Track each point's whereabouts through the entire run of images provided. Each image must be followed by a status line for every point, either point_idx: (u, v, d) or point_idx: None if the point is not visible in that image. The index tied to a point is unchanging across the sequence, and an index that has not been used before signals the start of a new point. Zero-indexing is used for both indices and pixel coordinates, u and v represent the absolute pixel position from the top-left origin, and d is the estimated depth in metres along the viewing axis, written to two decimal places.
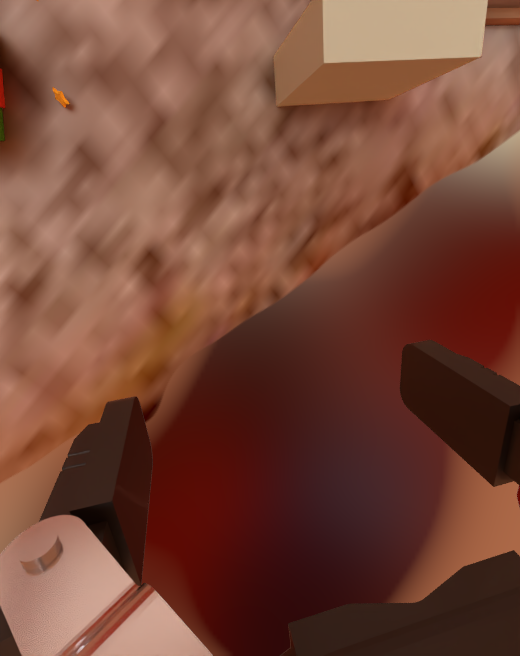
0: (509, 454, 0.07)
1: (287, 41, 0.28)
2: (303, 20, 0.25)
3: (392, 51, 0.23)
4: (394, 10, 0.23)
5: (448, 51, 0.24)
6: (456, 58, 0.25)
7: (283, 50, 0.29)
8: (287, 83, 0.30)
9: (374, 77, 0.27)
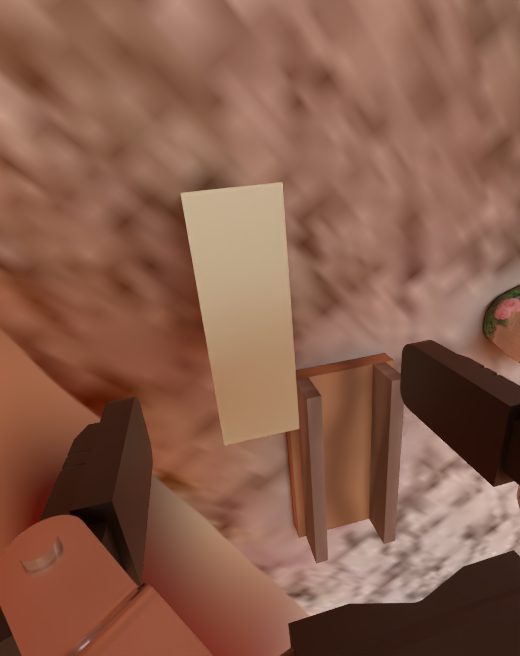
0: (509, 454, 0.07)
1: None
2: None
3: (213, 313, 0.15)
4: (262, 306, 0.15)
5: (224, 398, 0.17)
6: None
7: None
8: None
9: None
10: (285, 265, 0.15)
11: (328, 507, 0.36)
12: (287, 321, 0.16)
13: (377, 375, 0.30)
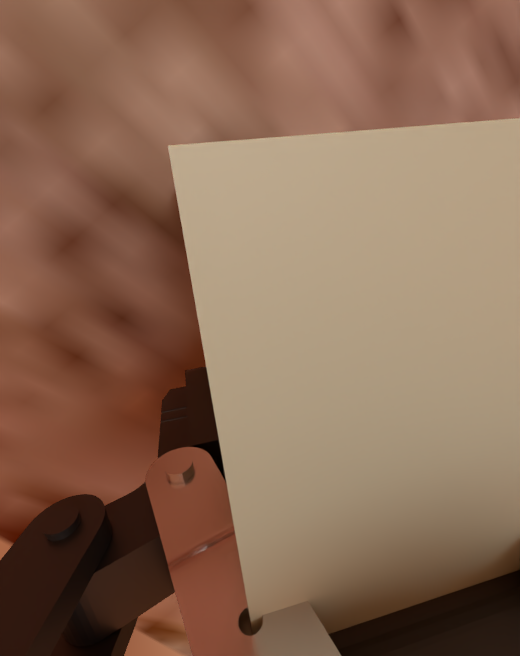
0: None
1: None
2: None
3: None
4: None
5: None
6: None
7: None
8: None
9: None
10: None
11: None
12: None
13: None
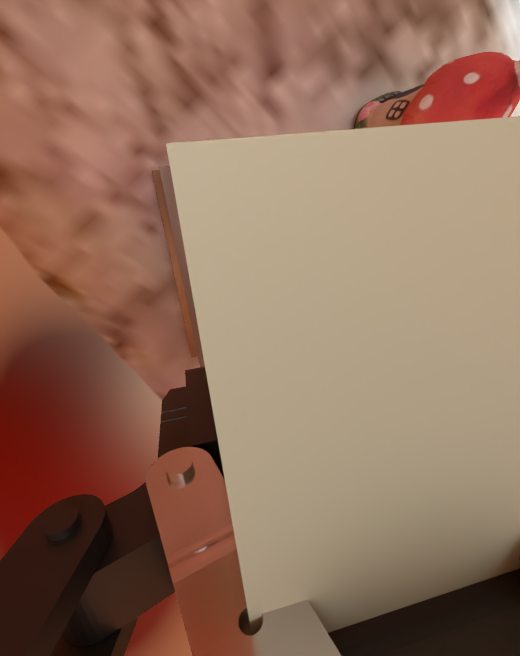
0: None
1: None
2: None
3: None
4: None
5: None
6: None
7: None
8: None
9: None
10: None
11: None
12: None
13: None
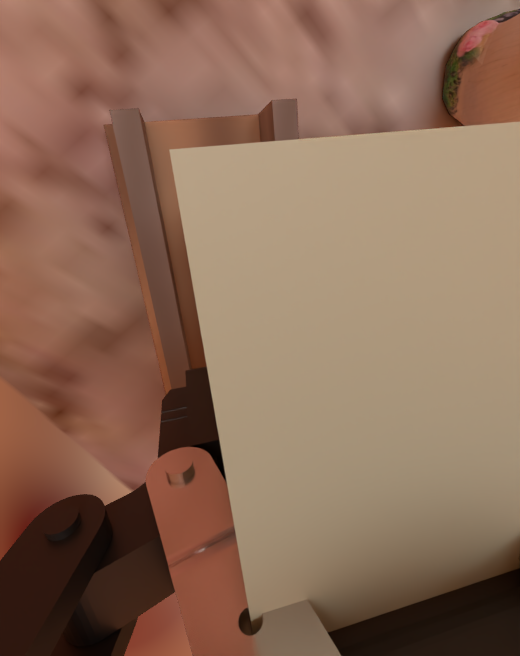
0: None
1: None
2: None
3: None
4: None
5: None
6: None
7: None
8: None
9: None
10: None
11: None
12: None
13: (262, 126, 0.18)
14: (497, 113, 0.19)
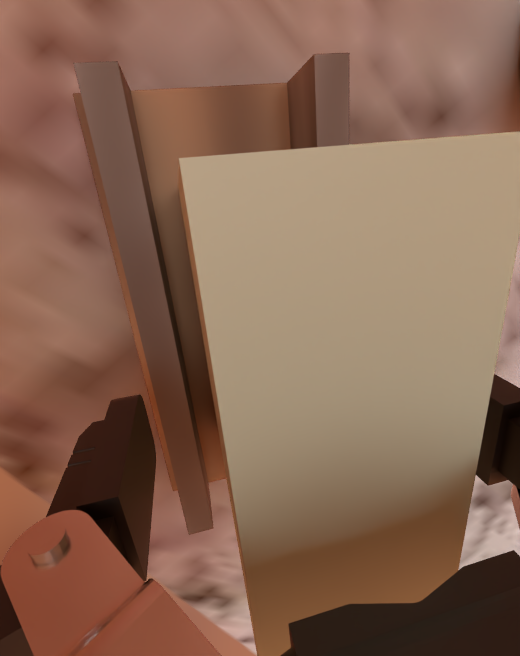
0: (503, 453, 0.08)
1: None
2: None
3: (272, 525, 0.05)
4: (405, 490, 0.06)
5: None
6: None
7: None
8: None
9: None
10: (486, 385, 0.05)
11: None
12: (457, 514, 0.06)
13: (294, 98, 0.13)
14: None
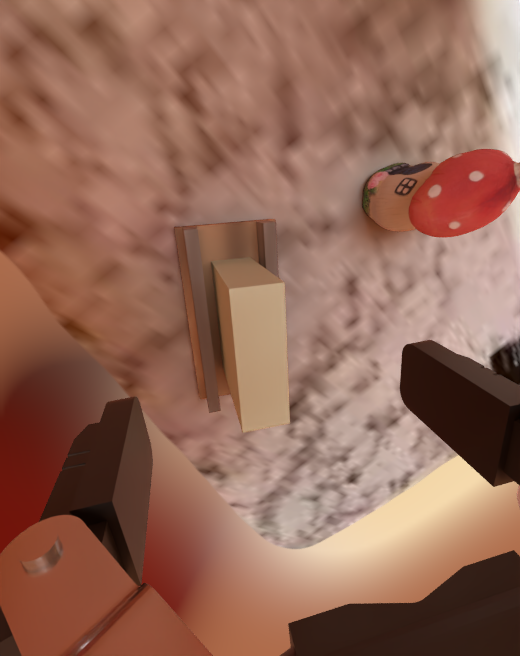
0: (509, 454, 0.07)
1: (256, 264, 0.31)
2: (266, 273, 0.28)
3: (241, 353, 0.26)
4: (270, 349, 0.26)
5: (244, 403, 0.27)
6: (240, 412, 0.28)
7: (251, 263, 0.32)
8: (225, 267, 0.31)
9: (228, 345, 0.29)
10: (284, 326, 0.26)
11: None
12: (284, 357, 0.27)
13: (258, 229, 0.34)
14: (386, 223, 0.35)
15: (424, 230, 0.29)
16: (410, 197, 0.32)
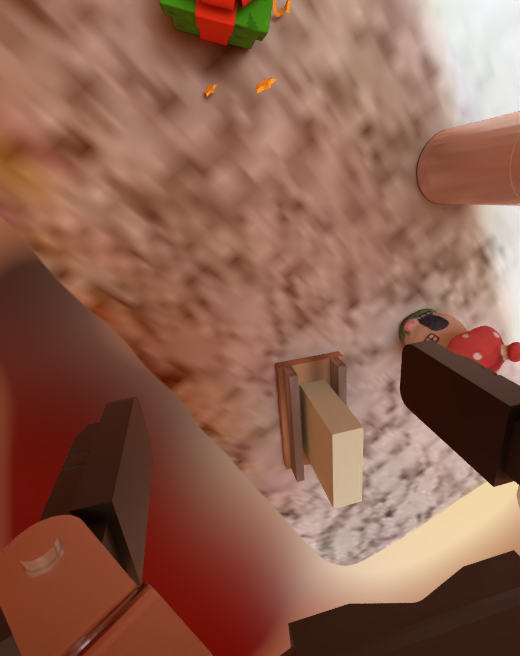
0: (509, 454, 0.07)
1: (335, 395, 0.48)
2: (346, 411, 0.45)
3: (336, 466, 0.43)
4: (353, 462, 0.43)
5: (336, 492, 0.44)
6: (332, 497, 0.45)
7: (330, 391, 0.49)
8: (314, 397, 0.48)
9: (321, 451, 0.47)
10: (362, 449, 0.43)
11: None
12: (360, 465, 0.44)
13: (332, 364, 0.51)
14: None
15: None
16: None
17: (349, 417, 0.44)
